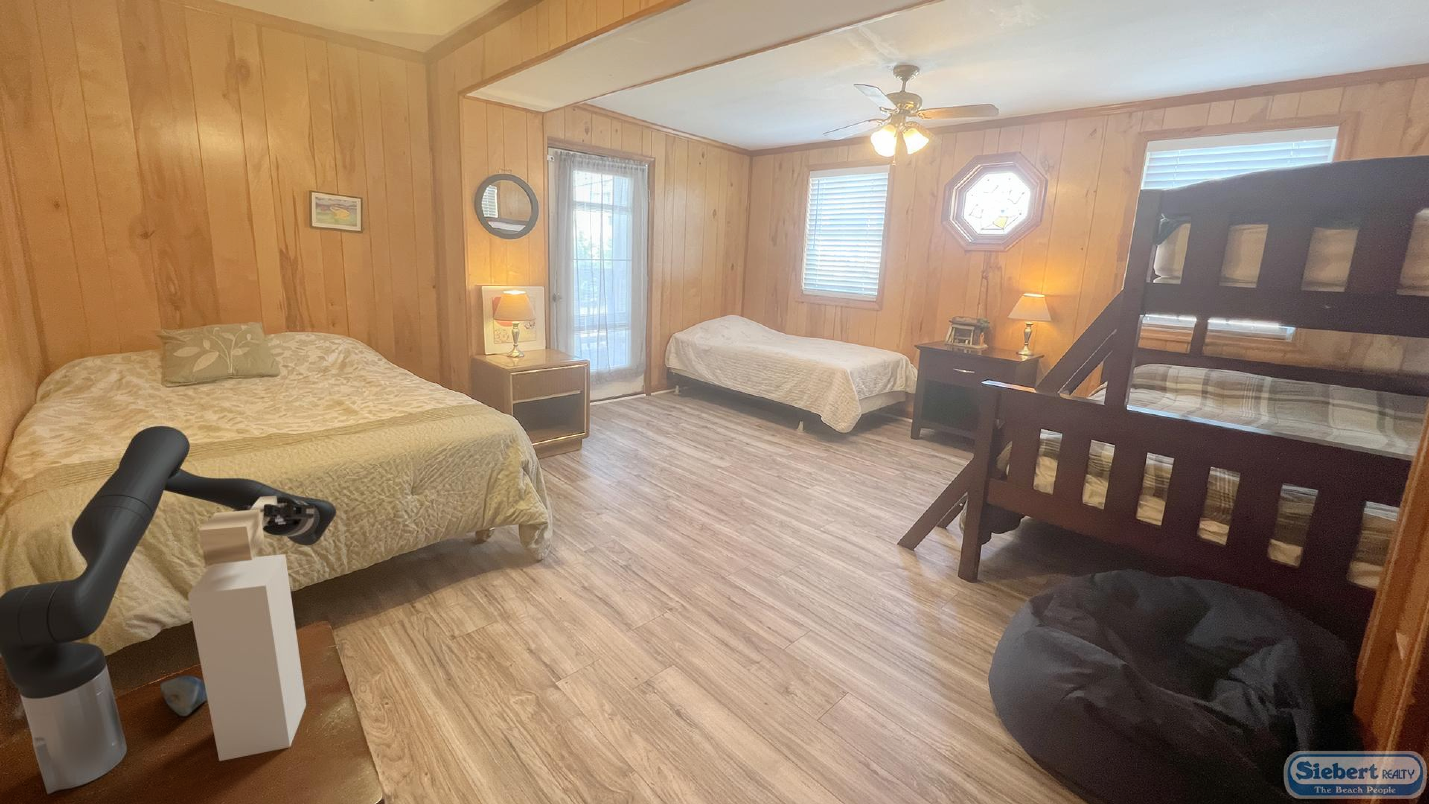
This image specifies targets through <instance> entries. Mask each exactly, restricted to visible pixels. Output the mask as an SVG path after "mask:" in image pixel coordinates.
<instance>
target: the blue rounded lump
mask: <svg viewBox="0 0 1429 804" xmlns="http://www.w3.org/2000/svg"><path fill="white" fill-rule="evenodd" d="M160 690H161V694H162V696H163V698H164V700H165V702H166V704H167V705H168V707H170V709H172V711H173V712H175V713H176V714H177V715H178V716H181V717H186V716H188V715H190V714H191V713H192V712H193V711H195V710H196V709H197V708H198V707H199V706H201V704H203V703H204V702H206V701H208V699H207V694H206V688H205V683H204V680H203V679H200V678H198V677H196V676H193V675H181V676H178V677H175V678H171V679H168V680H166V681H163V682H161V684H160Z"/></svg>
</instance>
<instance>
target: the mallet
mask: <svg viewBox="0 0 1429 804" xmlns="http://www.w3.org/2000/svg"><path fill="white" fill-rule="evenodd" d="M265 504H272V505H277V497H276V496H265V497H260V498H259V499H258V500H257V501H256V503H255V504H254V505H253V507H252V508H251V509H250V510H247V511H234V510H233V511H234V512H233V511H224V512H222V511H221V512H215V513H214V514H213V515H212V516H211V517H210V518H209V519H208V520H207V521H206V522H205V523H204V524H203V525H202V527H201V528H199V529H198V532H199V537H200V538H199V539H200V543H201V548H202V549H201V550H202V555H203V560H204V565H205V566H207V565H212V564H219V563H229V562H239V561H249V560H252V559H253V558H254V557H256V555H257V554H258V552H259V550H260V549H261V548H262V547H263V544H265V536H264V535H265V534H264V531H263V528H264V526H265V525H266V523H267V522H268V521H269V519H270V518H269V517H264V505H265Z"/></svg>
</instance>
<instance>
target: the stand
mask: <svg viewBox="0 0 1429 804" xmlns="http://www.w3.org/2000/svg"><path fill="white" fill-rule="evenodd" d="M210 565H211V566H210V567H209V568H208V569H207V570H206V571H205V572H204V574H203V575H202V576H201V578H200V579H199V580H198V581H197V582H196V584H195V585H194V586H193V587H192V588H191V590H190V591H189V592H188V594H187V599H188V603H189V609H190V614H191V619H192V624H193V629H194V635H195V640H196V645H197V651H198V657H199V661H200V667H201V672H202V677H203V682H204V683H205V688H206V694H207V704H208V708H209V713H210V714H209V715H210V719H211V724H212V730H213V734H214V740H215V745H216V750H217V755H218V761H219V762H221V761H226V760H233V759H236V758H237V759H238V758H242V757H247V756H252V755H257V754H262V753H266V752H272V751H278V750H283V749H287V748H291V746H292V742H293V741H294V738H295V735H296V733H297V730H298V728H299V725H300V723H301V720H302V717H303V715H304V711H305V709H306V707H307V701H306V695H305V687H304V680H303V679H304V678H303V672H302V666H301V665H302V664H301V659H300V652H299V651H300V650H299V644H298V643H299V642H298V636H297V629H296V621H295V615H294V607H293V602H292V601H293V600H292V592H291V585H290V578H289V572H288V564H287V556H286V554H285V553H284V554H273V555H272V554H271V555H264V556H254V558H253V559H252V560H249V561H239V562H229V563H219V564H210Z"/></svg>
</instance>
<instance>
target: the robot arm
mask: <svg viewBox="0 0 1429 804" xmlns="http://www.w3.org/2000/svg"><path fill="white" fill-rule="evenodd" d="M190 445H191V444H190V440H189V439H188V437H187V436H186V435H185V433H183V432H182V431H181V430H179V429H178V428H175V427H172V426H167V425H156V426H150V427H146V428H144V429H141V430H140V431H138V432H137V433H136V434H135V435H134V436H133V437H132V438H131V440H130V442H129V444H128V445H127V447H126V449H125V451H124V453H123V455H122V457H121V459H120V461H119V464H118V468H117V469H116V470H115V471H114V472H113V473H112V474H111V476H109V478H108V479H106V481H105V482H104V484H103V485H102V486H101V487H100V488H99V489H98V490H97V491H96V493H95V494H94V496H93V497H92V498H91V499H90V500H89V501H88V503H87V504H86V505H85V507H84V508H83V510H82V511H81V513H80V514H79V515H78V517H77V518H76V520H75V521H74V523H73V526H72V528H71V538H72V541H73V544H74V546H75V548H76V549H77V551H78V552H79V554H80V555H81V556H82V558H83V559H84V560H85V563H86V567H85V569H84V570H83V572H82V573H81V574H80V575H79V576H78V577H76V578H73V579H68V580H67V579H65V580H60V581H52V582H45V583H37V584H28V585H22V586H17V587H14V588H12V589H9V590H7V591H5V593H3V594H2V595H1V596H0V658H1V659H2V661H3V664H4V666H5V669H6V673H7V675H8V677H9V680H10V681H11V682H12V684H13V685H14V686H16V688H18V693H19V695H20V698H21V702H22V705H23V708H24V709H23V710H24V713H25V716H26V719H27V723H28V727H29V730H30V733H31V738H32V745H33V746H32V747H33V750H34V753H35V754H34V755H35V758H36V761H37V764H38V767H39V771H40V774H41V777H42V781H43V784H44V788H45V790H46V794H48V795H49V794H52V793H54V792H57V791H60V790H67V789H69V790H70V789H73V788H76V787H80V786H82V785H86V784H88V783H90V782H92V781H95V780H97V779H98V778H100V777H102V776H104V775H106V774H108V772H110V771H112V770H113V769H114V768H115V767H116V766H117V765H118V764H120V763H121V762H122V760H124V758H125V756H126V753H127V750H128V748H127V743H126V738H125V734H124V730H123V727H122V722H121V719H120V714H119V710H118V706H117V702H116V698H115V694H114V690H113V685H112V682H111V677H110V673H109V669H108V665H107V661H106V660H107V659H106V656H105V653H104V651H103V649H102V648H101V646H98V645H96V644H93V643H89V642H87V643H86V642H80V640H83V639H85V638H88V637H90V636H91V635H92V634H94V633H95V632H96V631H97V630H98V629H99V627H100V626H101V625H102V623H103V622H104V620H105V618H106V615H107V613H108V611H109V609H110V606H111V603H112V602H113V599H114V597H115V594H116V591H117V589H118V586H119V584H120V581H121V578H122V575H123V573H124V571H125V569H126V568H127V566H128V563H129V561H130V559H131V557H132V556H133V553H134V552H135V550H136V548H137V546H138V544H140V541H141V540H142V538H143V536H144V535H145V533H146V532H147V530H148V528H149V526H150V524H151V523H152V521H153V518H154V516H155V514H156V512H157V509H158V507H159V505H160V502H161V499H162V496H163V495H164V492H169V493H172V494H175V495H176V494H177V495H181V496H185V497H189V498H194V499H198V500H201V501H207V502H210V503H214V504H217V505H221V506H224V507H227V508H230V509H232V510H233V511H232V512H234V511H247V510H250V509H251V508H252V507H253V505H254V504H255V503H256V501H257V500H258V499H259V498H260V497H265V496H276V497H277V505H272V504H265V505H264V517H269V518H270V519H269V521H268V522H267V523H266V525H265V526H264V528H263V532H265V533H267V534H268V535H271V536H280V537H286V538H287V539H289V540H290V541H291V542H292V543H295V544H297V545H299V546H305V547H306V546H313V545H315V544H316V543H317V542H319V540H320V539H321V538H322V537H323V535H324V534H325V532H326V530H327V529H328V528H329V526H330V525H331V524H332V521H333V520H334V518H335V517H336V515H337V509H336V507H335V505H334V504H333V503H332V502H330V501H328V500H325V499H321V498H320V499H319V498H312V497H306V496H301V495H295V494H291V493H288V492H285V491H282V490H280V489H277V488H275V487H273V486H270V485H268V484H266V483H263V482H260V481H257V480H254V479H250V478H241V477H229V478H228V477H227V478H226V477H224V478H223V477H218V478H216V477H206V476H202V475H200V476H199V475H197V474H193V473H192V472H191V473H190V472H188V471H187V470H184V469H183V468H181V467H182V465H183V464H184V461H185V460H186V458H187V457H188V454H189V452H190V449H191V446H190ZM78 641H79V642H78Z"/></svg>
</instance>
